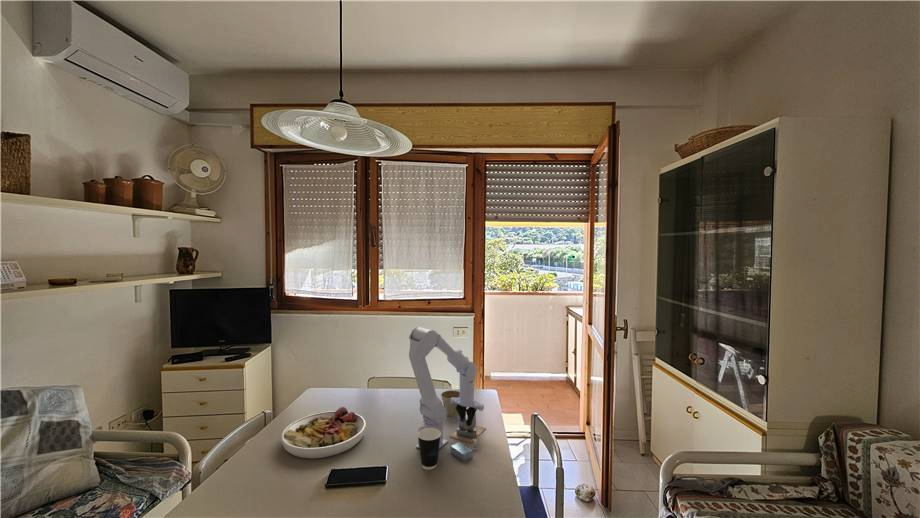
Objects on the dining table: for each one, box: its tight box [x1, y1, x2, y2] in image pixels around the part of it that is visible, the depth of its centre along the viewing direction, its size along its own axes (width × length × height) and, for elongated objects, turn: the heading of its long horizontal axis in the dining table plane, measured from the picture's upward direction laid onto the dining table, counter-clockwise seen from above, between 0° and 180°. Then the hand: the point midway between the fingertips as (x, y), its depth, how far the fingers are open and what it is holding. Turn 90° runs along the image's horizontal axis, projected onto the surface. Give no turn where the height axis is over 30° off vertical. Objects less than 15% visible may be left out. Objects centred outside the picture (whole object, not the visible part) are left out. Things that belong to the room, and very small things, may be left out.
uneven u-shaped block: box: [455, 412, 477, 440], centre depth 150 cm, size 11×7×5 cm, turn 149°
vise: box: [450, 438, 479, 462], centre depth 136 cm, size 9×7×4 cm
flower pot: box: [440, 389, 460, 417], centre depth 167 cm, size 9×9×9 cm
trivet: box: [449, 424, 487, 444], centre depth 150 cm, size 13×9×1 cm
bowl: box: [281, 406, 367, 459], centre depth 145 cm, size 30×30×8 cm
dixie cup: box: [417, 428, 441, 471], centre depth 128 cm, size 8×8×11 cm
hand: (466, 424), depth 152 cm, fingers closed on uneven u-shaped block, 2 cm apart
